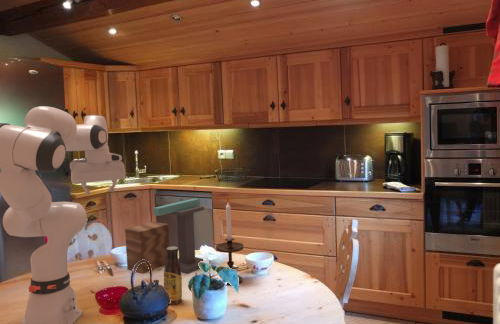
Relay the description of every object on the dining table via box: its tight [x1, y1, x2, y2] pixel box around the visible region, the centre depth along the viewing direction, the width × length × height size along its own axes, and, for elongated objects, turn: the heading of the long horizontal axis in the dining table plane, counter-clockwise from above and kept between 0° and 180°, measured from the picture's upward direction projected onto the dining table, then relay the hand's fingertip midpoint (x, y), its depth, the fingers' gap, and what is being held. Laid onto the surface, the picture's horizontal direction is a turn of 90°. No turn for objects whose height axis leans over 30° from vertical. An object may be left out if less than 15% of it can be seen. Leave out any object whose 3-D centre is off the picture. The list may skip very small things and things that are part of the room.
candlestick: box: [215, 195, 245, 287], centre depth 180 cm, size 11×11×35 cm
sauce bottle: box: [163, 245, 183, 305], centre depth 163 cm, size 6×6×20 cm
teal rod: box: [153, 198, 201, 217], centre depth 196 cm, size 24×3×3 cm, turn 142°
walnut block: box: [124, 221, 170, 274], centre depth 203 cm, size 16×10×18 cm, turn 142°
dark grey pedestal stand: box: [164, 205, 205, 275], centre depth 201 cm, size 14×14×26 cm
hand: (100, 192), depth 178 cm, fingers open, 8 cm apart
